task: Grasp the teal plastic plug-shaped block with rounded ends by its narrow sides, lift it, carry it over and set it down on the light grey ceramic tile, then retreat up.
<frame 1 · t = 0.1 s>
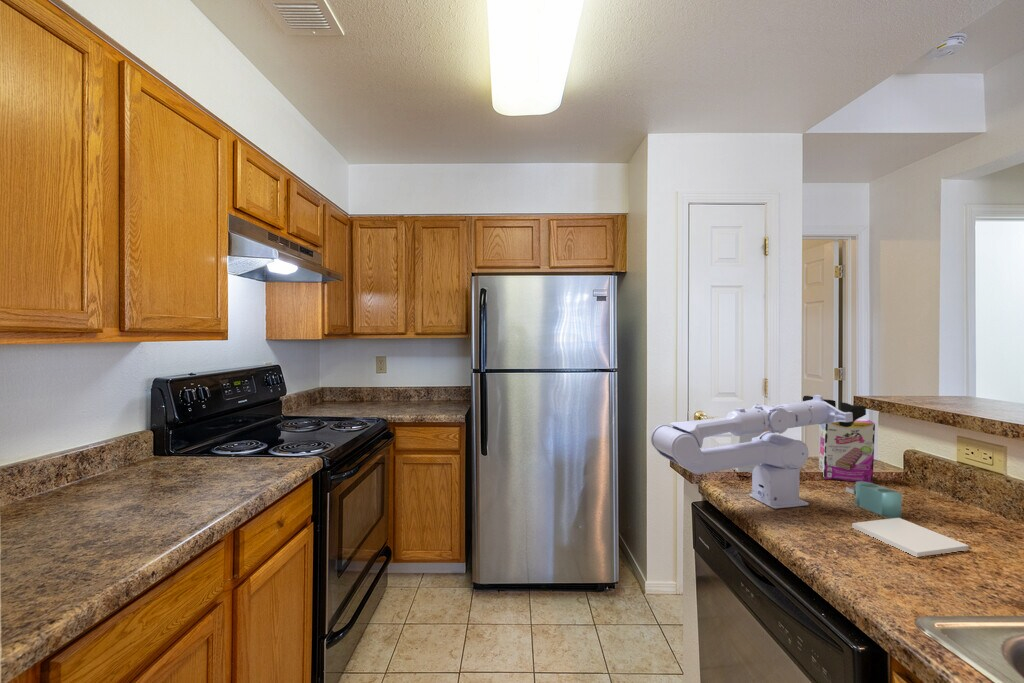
hand: (848, 407, 106), 22 cm above the counter, tool horizontal, fingers open, 7 cm apart
tile: (907, 538, 85), on the counter
skincare box: (745, 473, 123), on the counter
carrot: (764, 466, 129), on the counter
candy bar box: (845, 479, 118), on the counter
plug block: (877, 510, 98), on the counter
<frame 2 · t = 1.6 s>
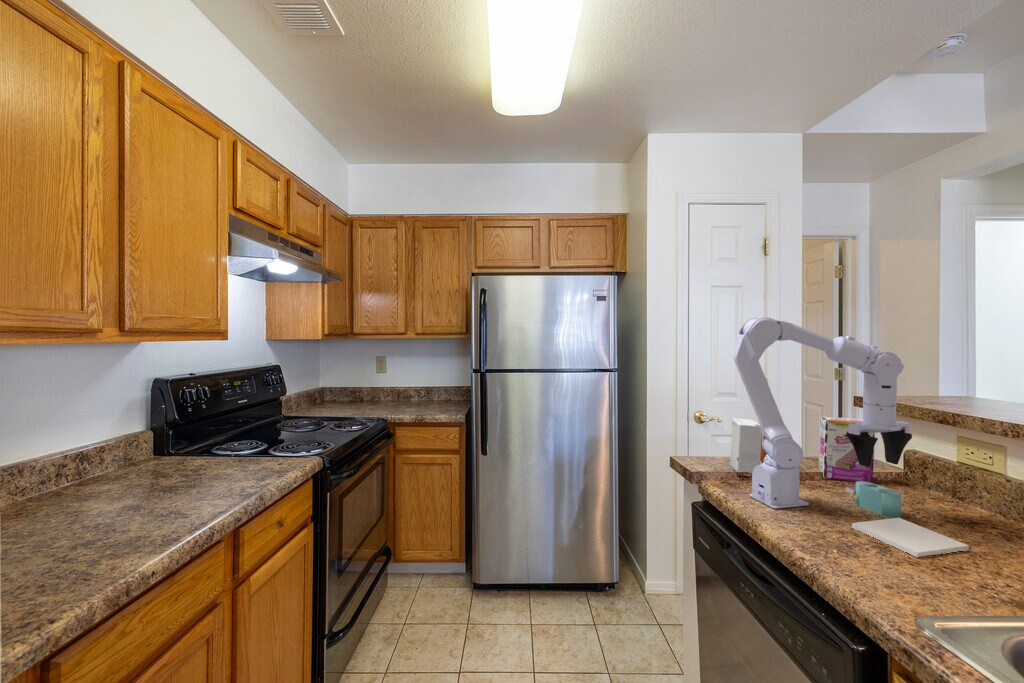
hand: (878, 464, 98), 10 cm above the counter, tool pointing down, fingers open, 7 cm apart
nothing on the counter moved.
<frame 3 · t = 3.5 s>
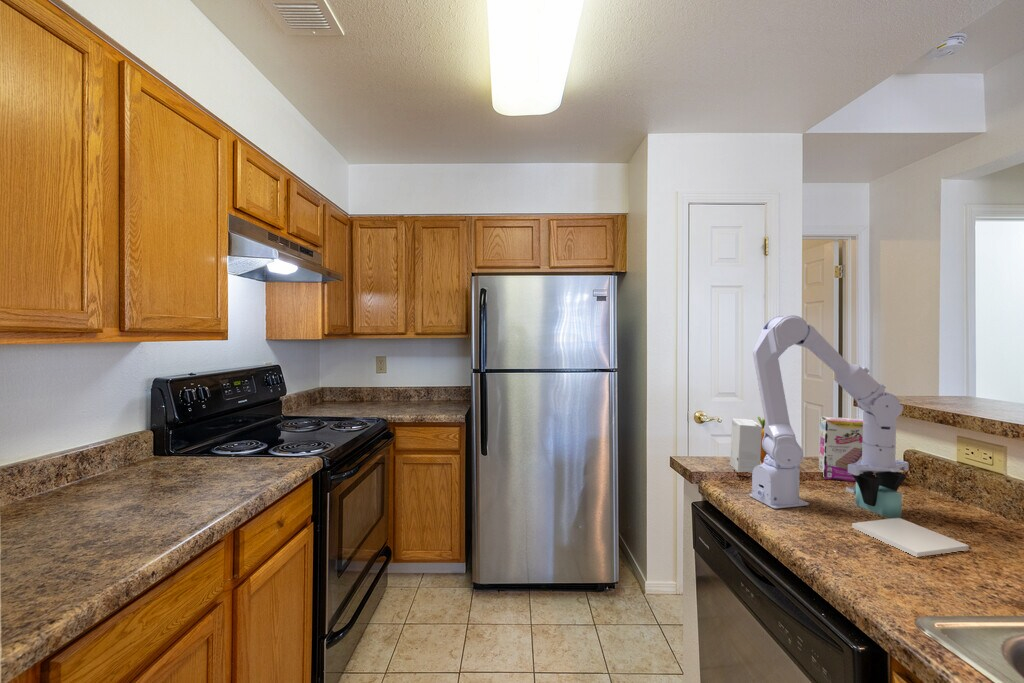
hand: (877, 503, 98), 1 cm above the counter, tool pointing down, fingers closed on plug block, 4 cm apart
plug block: (877, 509, 98), on the counter, touching gripper
everything else where it was.
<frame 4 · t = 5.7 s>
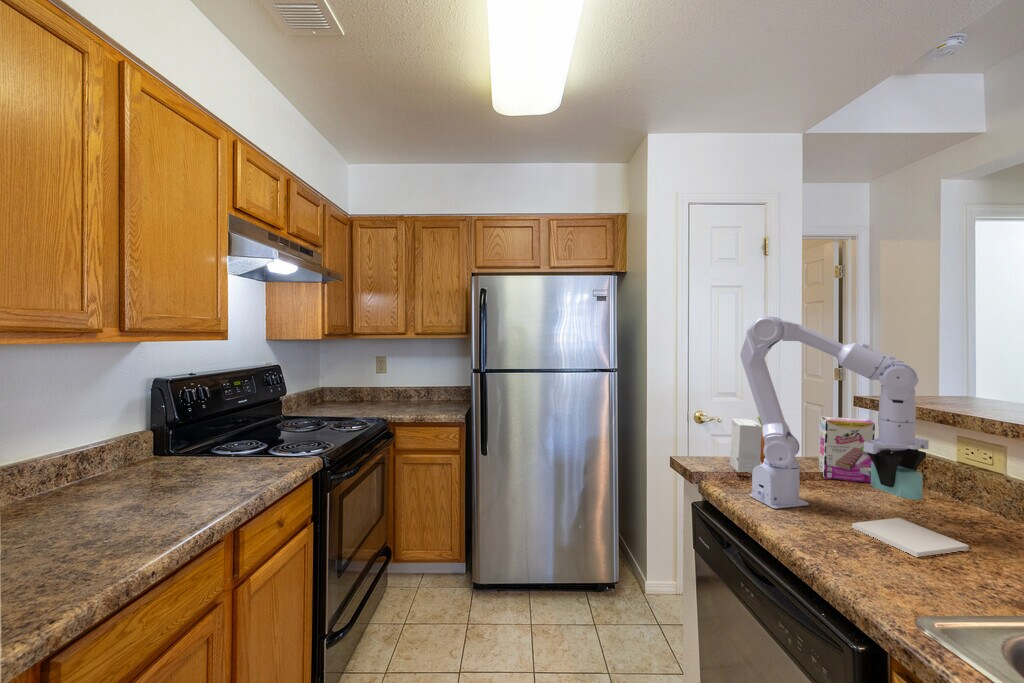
hand: (895, 484, 90), 8 cm above the counter, tool pointing down, fingers closed on plug block, 4 cm apart
plug block: (895, 491, 90), point 7 cm above the counter, touching gripper
everything else where it was.
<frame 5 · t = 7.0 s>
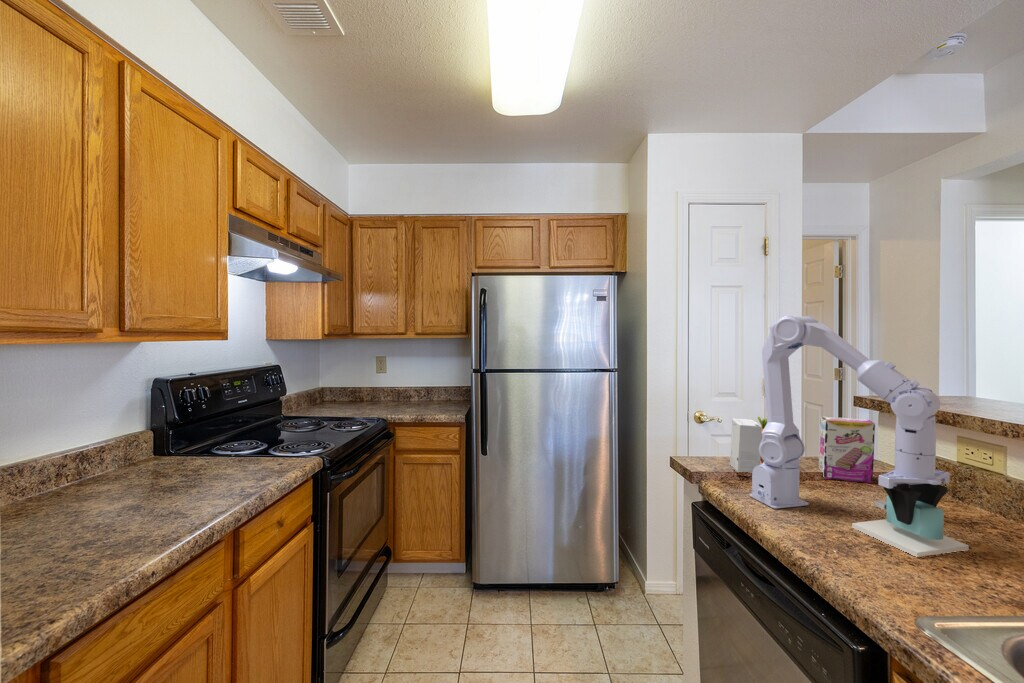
hand: (913, 521, 83), 4 cm above the counter, tool pointing down, fingers closed on plug block, 4 cm apart
plug block: (913, 528, 83), point 2 cm above the counter, touching gripper
everything else where it was.
when the fingers open (3 cm above the counter, at t = 7.9 s): plug block stays where it is, resting on tile.
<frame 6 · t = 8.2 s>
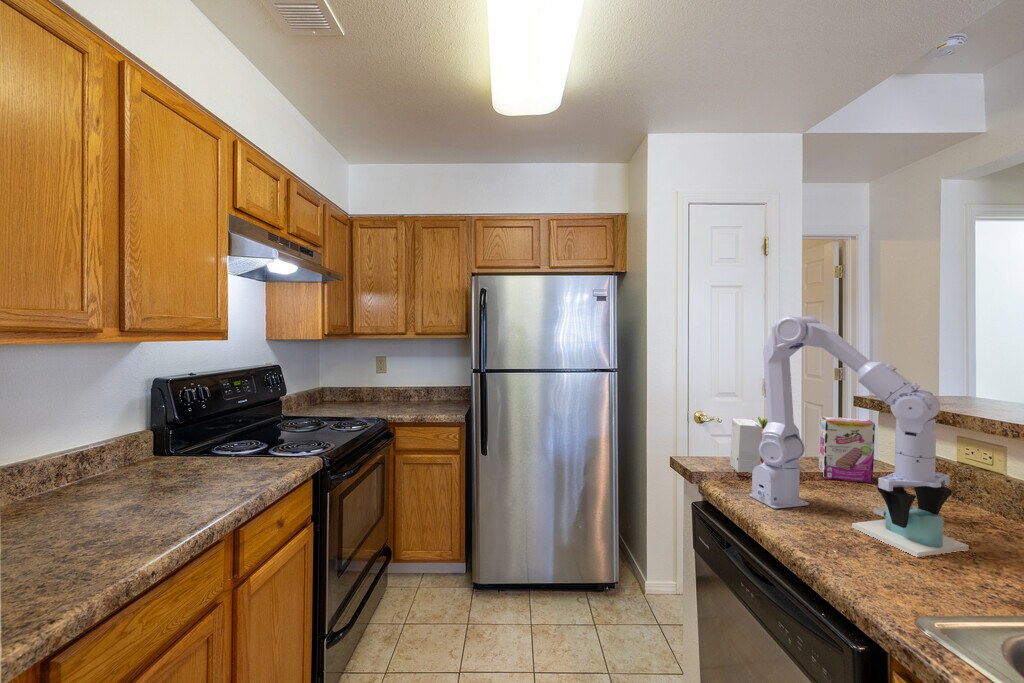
hand: (913, 523, 83), 3 cm above the counter, tool pointing down, fingers open, 6 cm apart
plug block: (912, 536, 84), point 1 cm above the counter, touching tile
everything else where it was.
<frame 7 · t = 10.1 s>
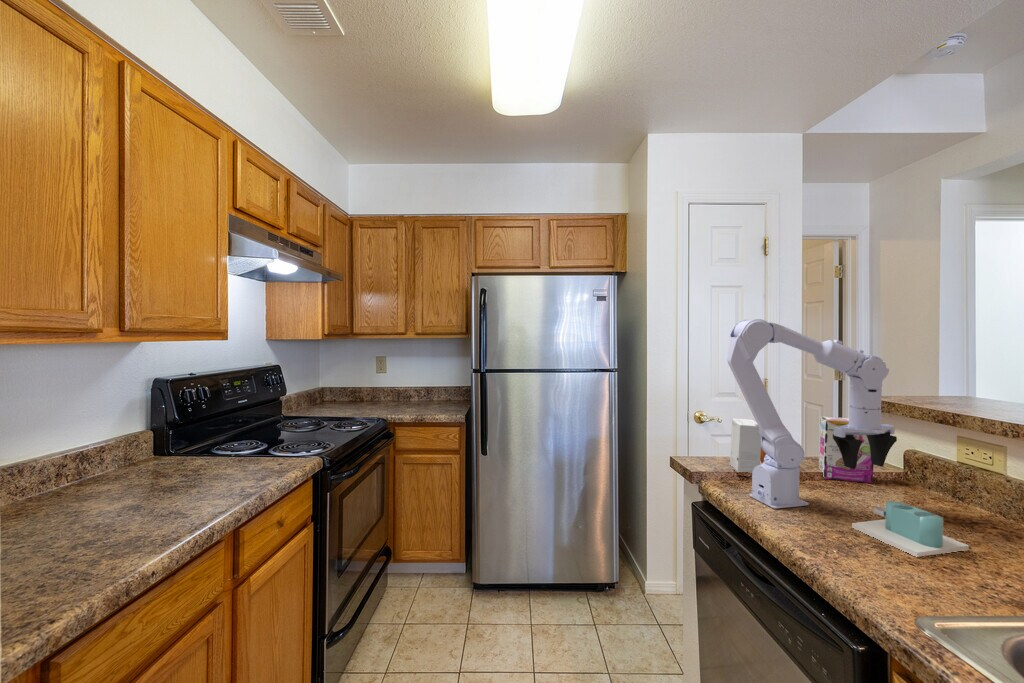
hand: (863, 466, 99), 9 cm above the counter, tool pointing down, fingers open, 7 cm apart
nothing on the counter moved.
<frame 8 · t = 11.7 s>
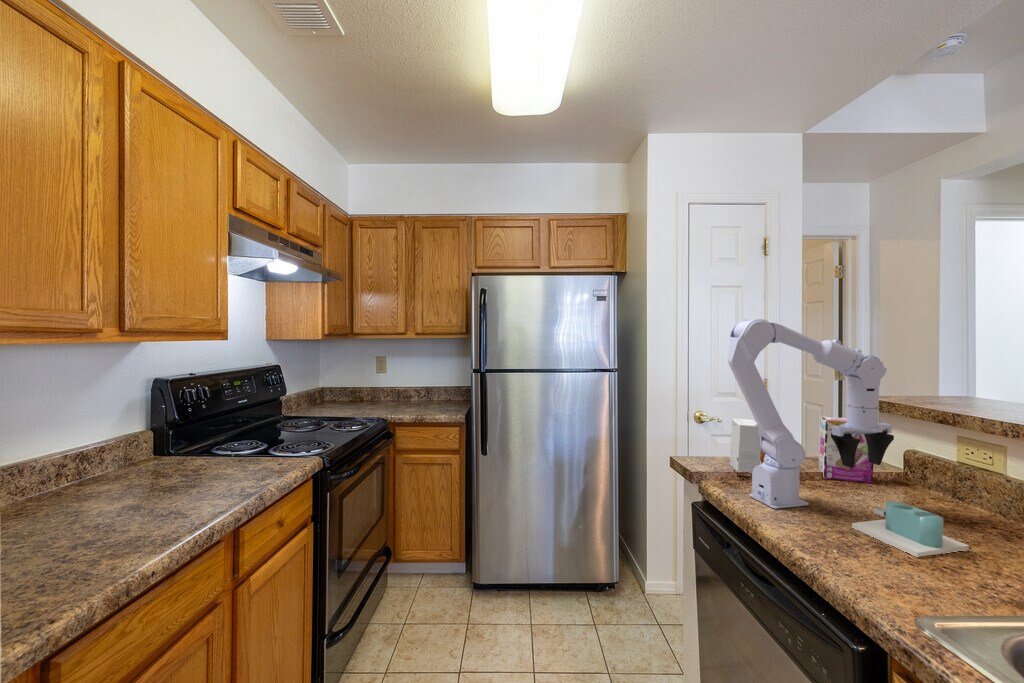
hand: (861, 464, 100), 9 cm above the counter, tool pointing down, fingers open, 7 cm apart
nothing on the counter moved.
at the end: plug block inside the target area on the tile (1.0 cm from its centre), point 1.0 cm above the tile's base; the gripper is holding nothing; plug block tilted 0° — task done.
